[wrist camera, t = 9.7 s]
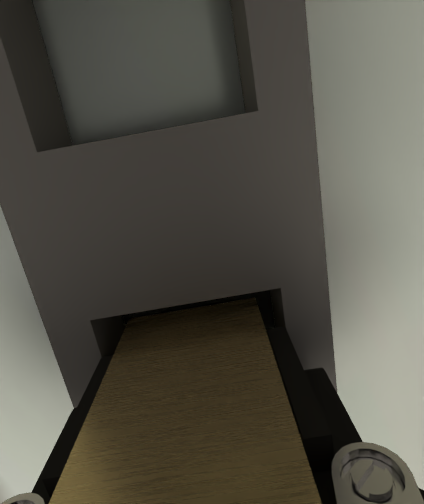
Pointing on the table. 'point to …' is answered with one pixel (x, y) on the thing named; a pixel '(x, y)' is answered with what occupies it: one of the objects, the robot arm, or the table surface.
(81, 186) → the rail
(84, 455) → the tan upright block
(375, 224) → the table surface
